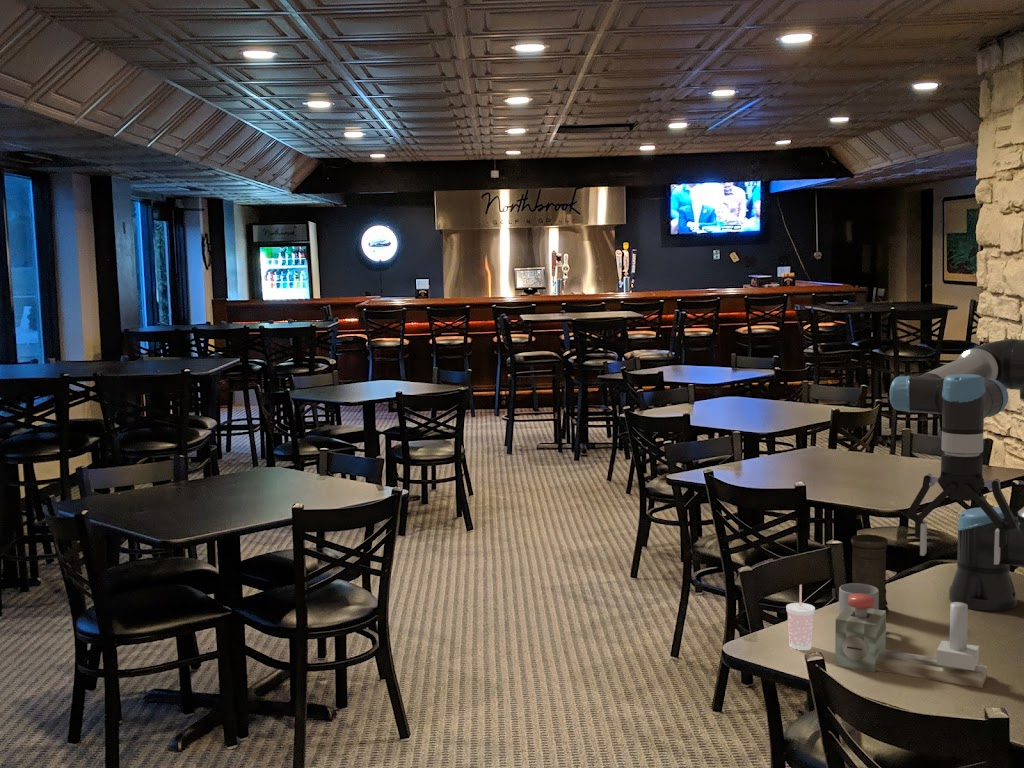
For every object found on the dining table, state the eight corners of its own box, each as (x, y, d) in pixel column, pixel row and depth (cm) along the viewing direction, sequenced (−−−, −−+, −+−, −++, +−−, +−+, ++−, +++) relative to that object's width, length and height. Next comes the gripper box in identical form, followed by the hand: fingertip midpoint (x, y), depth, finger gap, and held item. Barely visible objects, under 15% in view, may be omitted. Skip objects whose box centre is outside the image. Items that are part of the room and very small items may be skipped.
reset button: (876, 620, 218) (876, 595, 217) (870, 628, 213) (871, 602, 213) (851, 617, 220) (851, 592, 220) (845, 624, 216) (845, 598, 215)
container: (873, 620, 242) (874, 545, 240) (841, 610, 249) (842, 538, 247) (896, 612, 247) (897, 538, 245) (863, 602, 254) (864, 531, 252)
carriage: (978, 660, 208) (980, 602, 207) (974, 670, 203) (975, 611, 202) (941, 654, 212) (942, 597, 210) (936, 664, 207) (937, 606, 205)
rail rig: (987, 673, 209) (989, 625, 208) (980, 691, 200) (981, 642, 199) (846, 649, 224) (847, 605, 223) (834, 666, 215) (834, 619, 214)
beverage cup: (787, 640, 230) (787, 579, 229) (815, 643, 228) (816, 581, 227) (784, 650, 225) (784, 587, 223) (813, 653, 223) (814, 590, 221)
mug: (867, 645, 226) (868, 597, 225) (831, 636, 232) (832, 589, 231) (891, 631, 234) (892, 584, 233) (856, 622, 240) (856, 577, 239)
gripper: (1034, 454, 199) (1031, 561, 202) (899, 445, 212) (897, 546, 215) (1030, 461, 193) (1027, 571, 195) (891, 451, 206) (890, 555, 208)
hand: (959, 558), depth 205 cm, fingers open, 13 cm apart
